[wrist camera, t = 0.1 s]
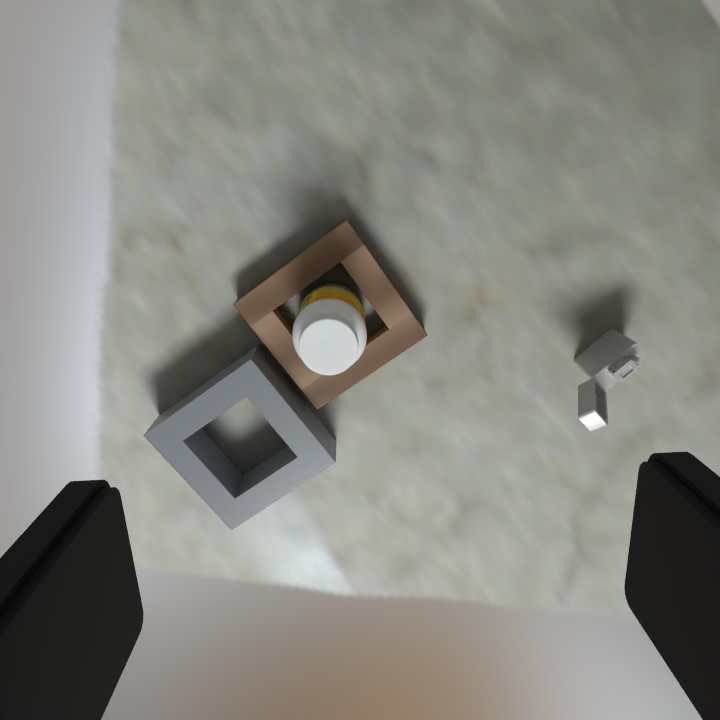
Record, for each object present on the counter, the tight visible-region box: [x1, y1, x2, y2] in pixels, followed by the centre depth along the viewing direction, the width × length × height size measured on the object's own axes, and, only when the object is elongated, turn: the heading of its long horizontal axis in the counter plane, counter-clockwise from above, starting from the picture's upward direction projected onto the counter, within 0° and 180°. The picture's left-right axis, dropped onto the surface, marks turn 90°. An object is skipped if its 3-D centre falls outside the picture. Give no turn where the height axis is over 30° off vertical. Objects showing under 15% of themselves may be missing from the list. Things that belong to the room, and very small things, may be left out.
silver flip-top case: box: [574, 329, 648, 431], centre depth 45 cm, size 7×2×8 cm, turn 133°
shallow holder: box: [233, 219, 427, 410], centre depth 46 cm, size 11×11×2 cm
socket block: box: [144, 344, 336, 530], centre depth 48 cm, size 11×11×4 cm
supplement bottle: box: [292, 284, 367, 375], centre depth 42 cm, size 5×5×10 cm
